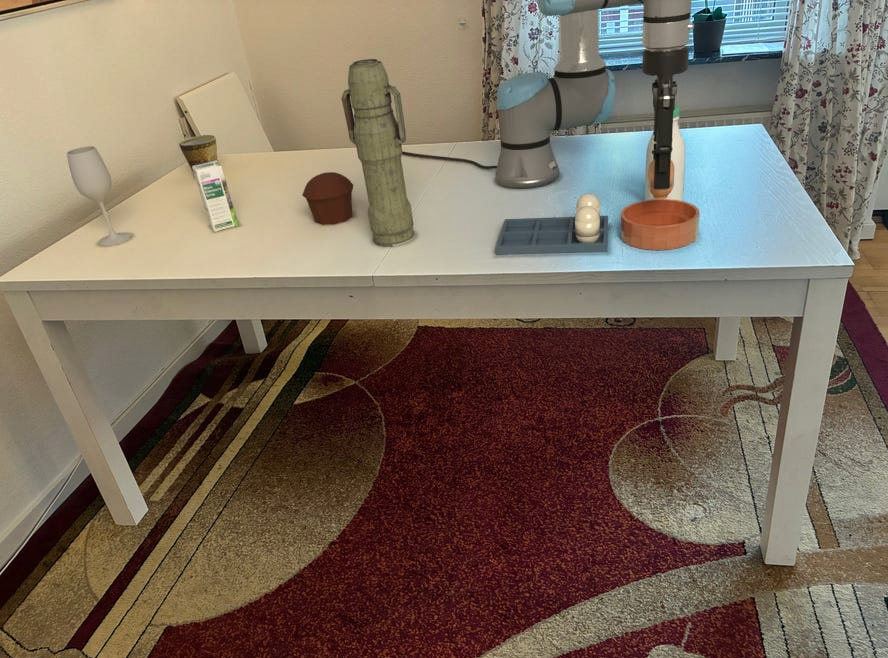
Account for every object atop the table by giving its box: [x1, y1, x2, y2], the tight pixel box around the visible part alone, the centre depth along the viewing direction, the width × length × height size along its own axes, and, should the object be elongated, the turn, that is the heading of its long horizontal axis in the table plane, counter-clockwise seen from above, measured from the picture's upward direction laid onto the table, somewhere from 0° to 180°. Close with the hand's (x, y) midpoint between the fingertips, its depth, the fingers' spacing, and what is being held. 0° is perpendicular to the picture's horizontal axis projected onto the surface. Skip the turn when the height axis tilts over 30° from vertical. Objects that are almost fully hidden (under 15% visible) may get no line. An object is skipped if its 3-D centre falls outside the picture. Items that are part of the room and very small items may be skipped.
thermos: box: [341, 58, 415, 247], centre depth 145 cm, size 9×12×35 cm
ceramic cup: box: [178, 134, 219, 177], centre depth 208 cm, size 13×10×10 cm
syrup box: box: [192, 159, 239, 232], centre depth 168 cm, size 6×6×14 cm
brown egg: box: [648, 159, 675, 200], centre depth 134 cm, size 5×5×8 cm
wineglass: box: [66, 145, 132, 247], centre depth 166 cm, size 8×8×21 cm
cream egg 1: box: [575, 193, 601, 216], centre depth 143 cm, size 5×5×8 cm
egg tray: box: [495, 215, 609, 256], centre depth 144 cm, size 14×21×2 cm
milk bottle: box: [644, 105, 686, 201], centre depth 149 cm, size 8×8×20 cm
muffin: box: [301, 171, 354, 226], centre depth 166 cm, size 12×11×10 cm
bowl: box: [620, 199, 701, 251], centre depth 139 cm, size 14×14×5 cm
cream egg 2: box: [574, 206, 601, 243], centre depth 138 cm, size 5×5×8 cm
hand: (660, 183), depth 135 cm, fingers closed on brown egg, 4 cm apart
